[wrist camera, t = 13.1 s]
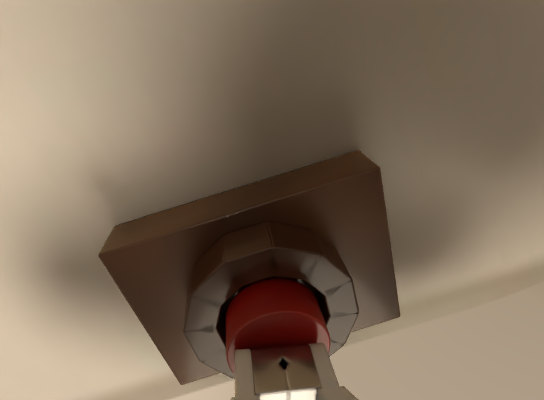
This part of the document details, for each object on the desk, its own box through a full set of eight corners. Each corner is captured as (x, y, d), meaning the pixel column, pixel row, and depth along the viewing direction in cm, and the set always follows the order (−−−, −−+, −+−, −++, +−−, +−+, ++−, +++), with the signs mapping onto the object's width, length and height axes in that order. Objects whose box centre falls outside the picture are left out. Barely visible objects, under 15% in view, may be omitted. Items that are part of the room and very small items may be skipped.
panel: (359, 148, 14) (404, 185, 11) (381, 286, 18) (421, 348, 14) (113, 225, 14) (77, 287, 11) (185, 348, 18) (176, 425, 14)
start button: (306, 265, 12) (319, 298, 11) (326, 332, 14) (339, 369, 12) (211, 294, 12) (210, 332, 11) (242, 358, 14) (244, 399, 12)
